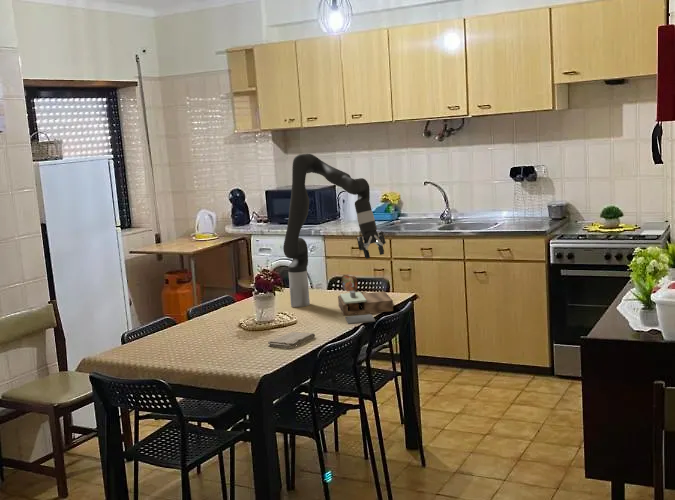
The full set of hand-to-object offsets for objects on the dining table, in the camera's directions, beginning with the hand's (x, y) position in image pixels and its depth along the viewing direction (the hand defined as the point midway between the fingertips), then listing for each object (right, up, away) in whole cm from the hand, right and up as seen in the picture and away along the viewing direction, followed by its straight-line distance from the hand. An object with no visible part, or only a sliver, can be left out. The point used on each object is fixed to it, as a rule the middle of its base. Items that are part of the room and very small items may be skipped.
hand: (375, 256), depth 348 cm
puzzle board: (-3, -25, +15) cm, 29 cm away
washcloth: (-36, -35, -35) cm, 61 cm away
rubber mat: (-7, -28, -6) cm, 30 cm away
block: (-9, -25, +14) cm, 31 cm away
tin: (-10, -19, +58) cm, 62 cm away
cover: (-10, -20, +14) cm, 26 cm away
